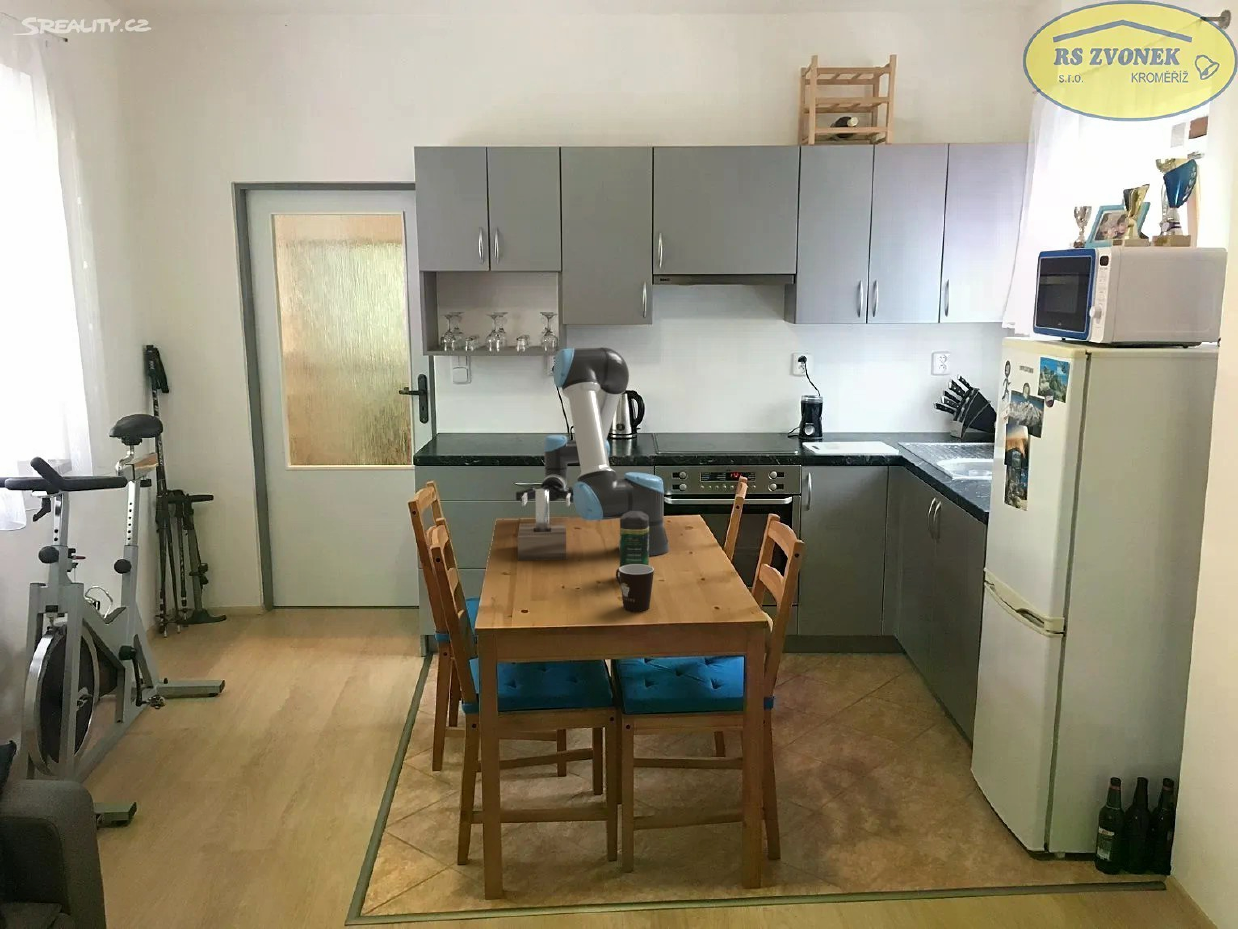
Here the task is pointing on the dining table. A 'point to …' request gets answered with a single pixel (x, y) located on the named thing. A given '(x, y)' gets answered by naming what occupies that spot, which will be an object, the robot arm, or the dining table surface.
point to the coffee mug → (635, 586)
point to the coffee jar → (634, 538)
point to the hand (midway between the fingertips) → (545, 501)
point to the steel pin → (542, 510)
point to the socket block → (542, 542)
